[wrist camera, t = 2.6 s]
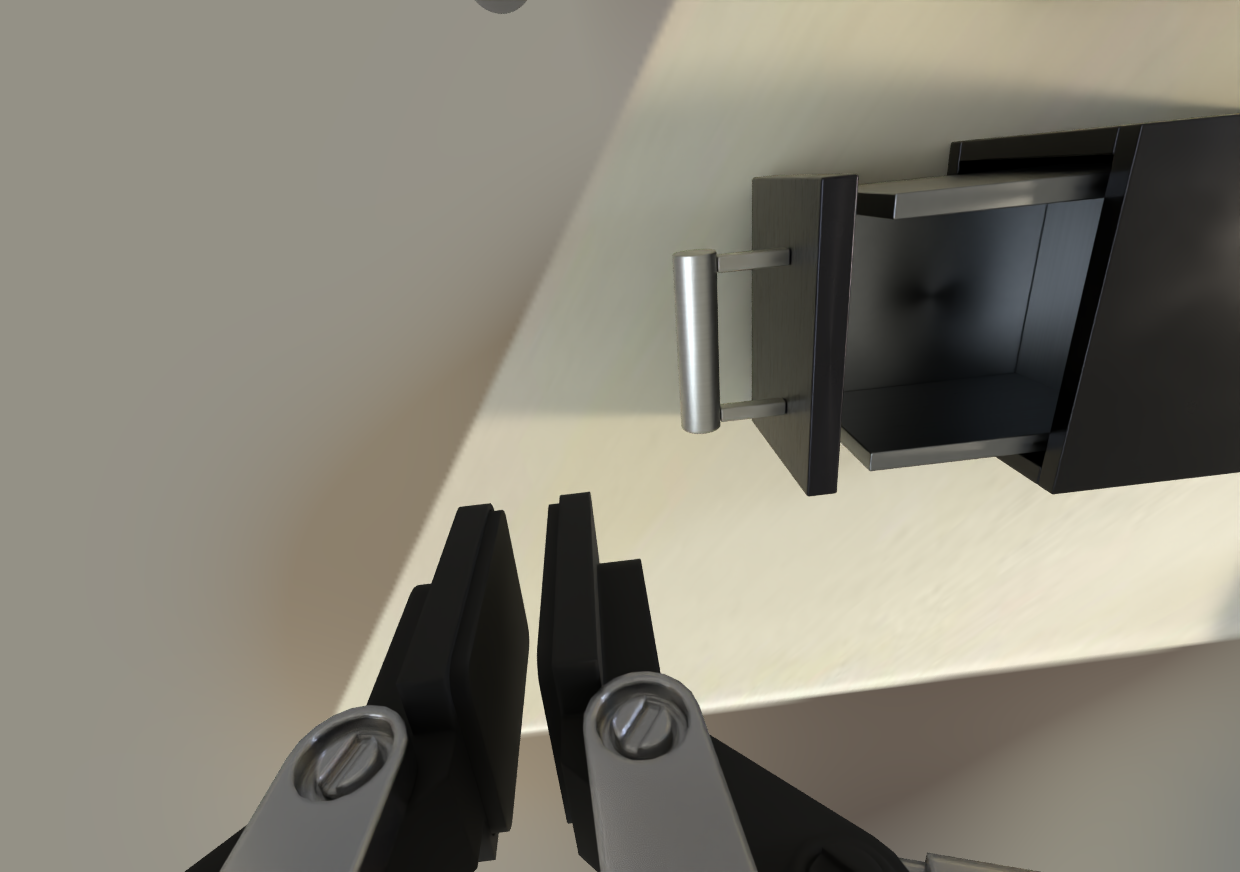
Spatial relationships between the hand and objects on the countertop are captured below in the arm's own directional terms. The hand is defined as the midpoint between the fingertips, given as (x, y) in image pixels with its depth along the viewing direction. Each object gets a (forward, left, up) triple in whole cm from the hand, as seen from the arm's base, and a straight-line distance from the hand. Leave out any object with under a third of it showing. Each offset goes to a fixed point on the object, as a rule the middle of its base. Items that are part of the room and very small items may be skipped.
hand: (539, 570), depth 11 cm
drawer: (0, +14, -18) cm, 23 cm away
